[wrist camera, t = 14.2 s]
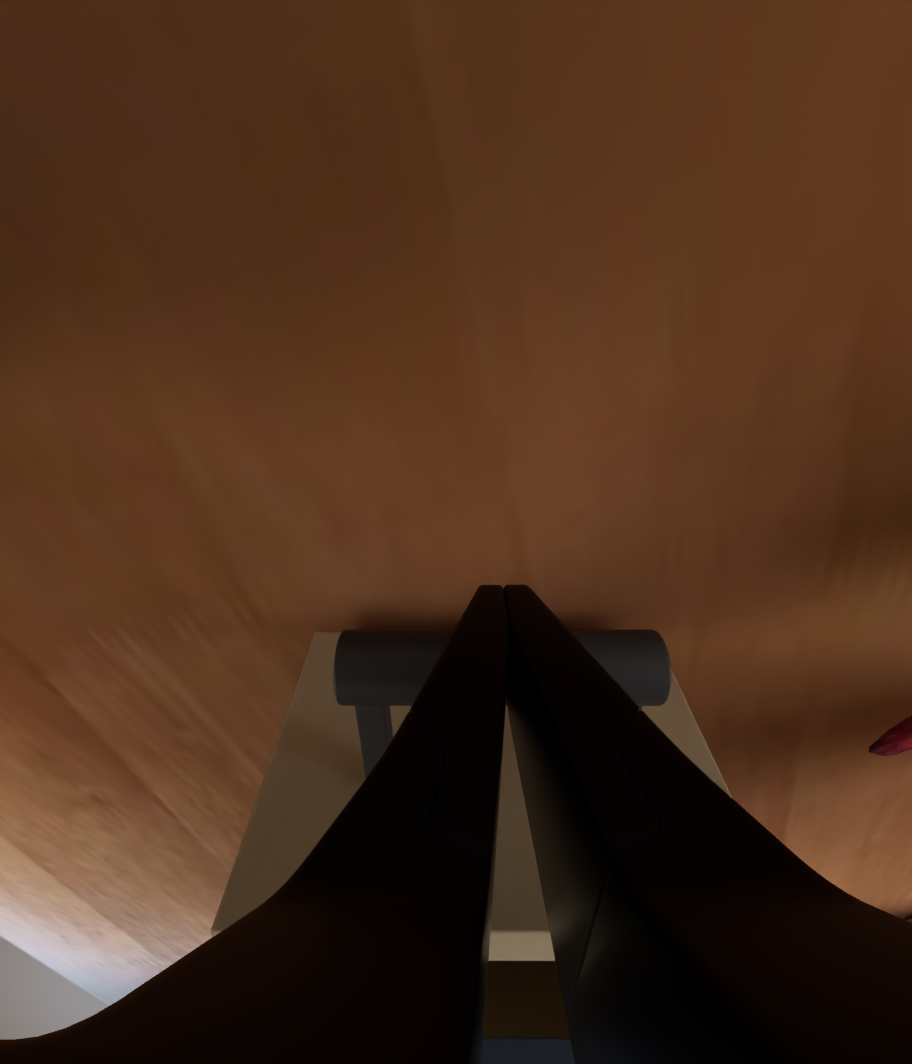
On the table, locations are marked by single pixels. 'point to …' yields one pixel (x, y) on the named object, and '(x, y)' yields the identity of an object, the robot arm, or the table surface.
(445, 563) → the table surface
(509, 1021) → the drawer
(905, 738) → the decorative bird figurine
